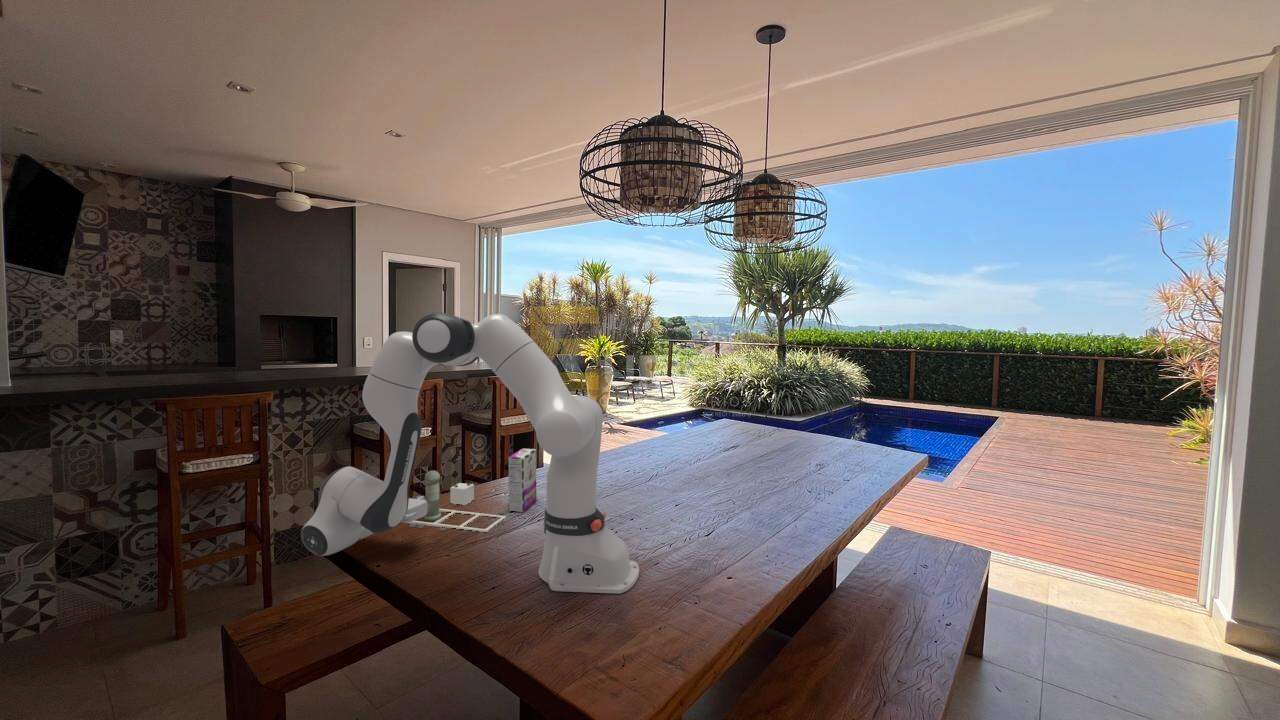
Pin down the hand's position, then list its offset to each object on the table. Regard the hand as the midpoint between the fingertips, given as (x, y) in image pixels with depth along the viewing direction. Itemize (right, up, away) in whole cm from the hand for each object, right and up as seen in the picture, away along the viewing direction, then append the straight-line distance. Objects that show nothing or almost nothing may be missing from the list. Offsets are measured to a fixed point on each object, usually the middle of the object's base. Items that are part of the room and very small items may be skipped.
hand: (406, 496), depth 141 cm
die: (+6, -8, +25) cm, 27 cm away
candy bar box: (+25, -9, +23) cm, 35 cm away
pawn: (+2, -9, +12) cm, 15 cm away
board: (+10, -9, +9) cm, 16 cm away
